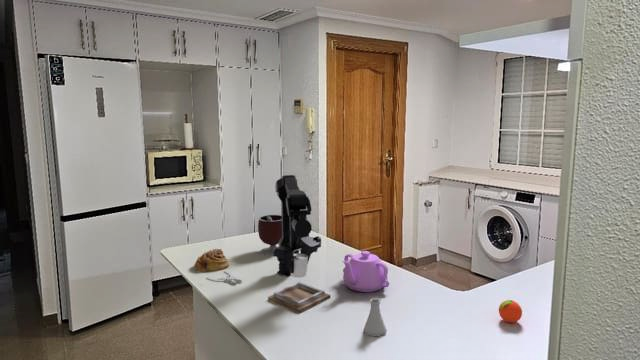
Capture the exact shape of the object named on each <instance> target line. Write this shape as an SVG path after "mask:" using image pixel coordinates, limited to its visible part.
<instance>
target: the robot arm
mask: <svg viewBox="0 0 640 360" xmlns="http://www.w3.org/2000/svg"><path fill="white" fill-rule="evenodd" d="M274 186H275V193H277V194H276V195H277V197H278V199H279V200H280V203H281V205H280V207H281V215H282V237H281V239H280V240H279V244H278V246H276V247H277V248H275V250H274V256H273V257H275V258H276V260H277V261H278V270H277V272H276V273H277V274H278V275H279V274H280V275H282V276H284V277H290V276H291V273H294V259H295V258H296V256H294V254H296V253H302V254H306V255H308V262H307V265H308V264H309V261H310V258H311V255H312V254H313V253H317V252H318V249H319V248H321V247H322V237H321V236H319V235H317V236H310V234H311V231H312V230H313V229H312V228H313V227H312V224H311V222H310V221H309V220H308V219H307V216H309V215H311V216H312V214H311V213H312V211H313V209H312V204H311V199H310V198H309V196H308V195H307V194H306V192H305V191H303V190H300V188H299V186H298V179H297V177H296V175H294V174H287V175H285V174H284V175H282V176H281V178H278V179H277V180H276V182H275V185H274Z"/></svg>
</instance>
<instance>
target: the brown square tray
mask: <svg viewBox="0 0 640 360" xmlns="http://www.w3.org/2000/svg"><path fill="white" fill-rule="evenodd" d="M329 299H331V294H328V293H326V292H325V290H322V289H320V288H317V287H314V286H312V285H308V284H306V283H302V282H301V281H299V282H296V283H294V284H291V285H289V286H287V287H284V288H282V289H279V290H276V291H275V292H273V294H272V295H269V296H268V297H267V300H268V301H270V302H272V303H274V304H277V305H279V306H281V307H284V308H286V309H288V310H290V311H293V312H296V313H299V314H301V313H303V312H305V311H307V310H309V309H311V308H313V307H315V306H317V305H319V304H322V303H323V302H326V301H328V300H329Z"/></svg>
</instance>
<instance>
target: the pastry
mask: <svg viewBox="0 0 640 360" xmlns="http://www.w3.org/2000/svg"><path fill="white" fill-rule="evenodd" d="M193 267H194V269H195V270H196V271H197V272H198V271H199V272H202V273H203V272H220V271H223V270H224V271H225V270H226V269H228V268H229V267H230V261H229V259H228V258H227V257H226V256H225V254H224V252H223V250H222V248H213V249H210V250H208V251H205V252H203V253H202V255H200V256H198V257H197V259H196V261H195V262H194V266H193Z"/></svg>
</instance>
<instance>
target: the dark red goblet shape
mask: <svg viewBox="0 0 640 360" xmlns="http://www.w3.org/2000/svg"><path fill="white" fill-rule="evenodd" d="M257 234H258V237H259V239H260V240H261V242H262V243H263V244H266V245H269V246H268V247H264V248H262V249H261V250H260V254H261V255H262V256H265V257H266V256H267V257H275V256H274V250H275V248H277V247H278V246H277V245H279V240H280V239H281V237H282V214H265V215H262V216H259V217H258V221H257Z"/></svg>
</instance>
